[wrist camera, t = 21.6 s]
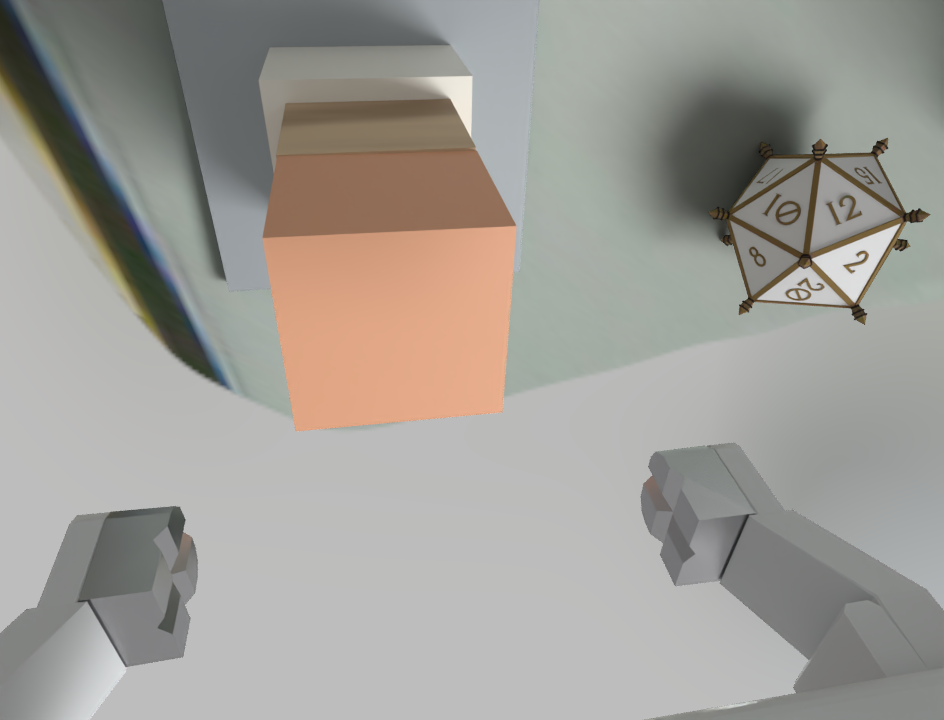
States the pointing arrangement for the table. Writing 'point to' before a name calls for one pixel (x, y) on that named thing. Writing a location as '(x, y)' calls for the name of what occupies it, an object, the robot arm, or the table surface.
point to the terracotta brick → (390, 286)
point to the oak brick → (372, 128)
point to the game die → (815, 228)
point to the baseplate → (240, 109)
